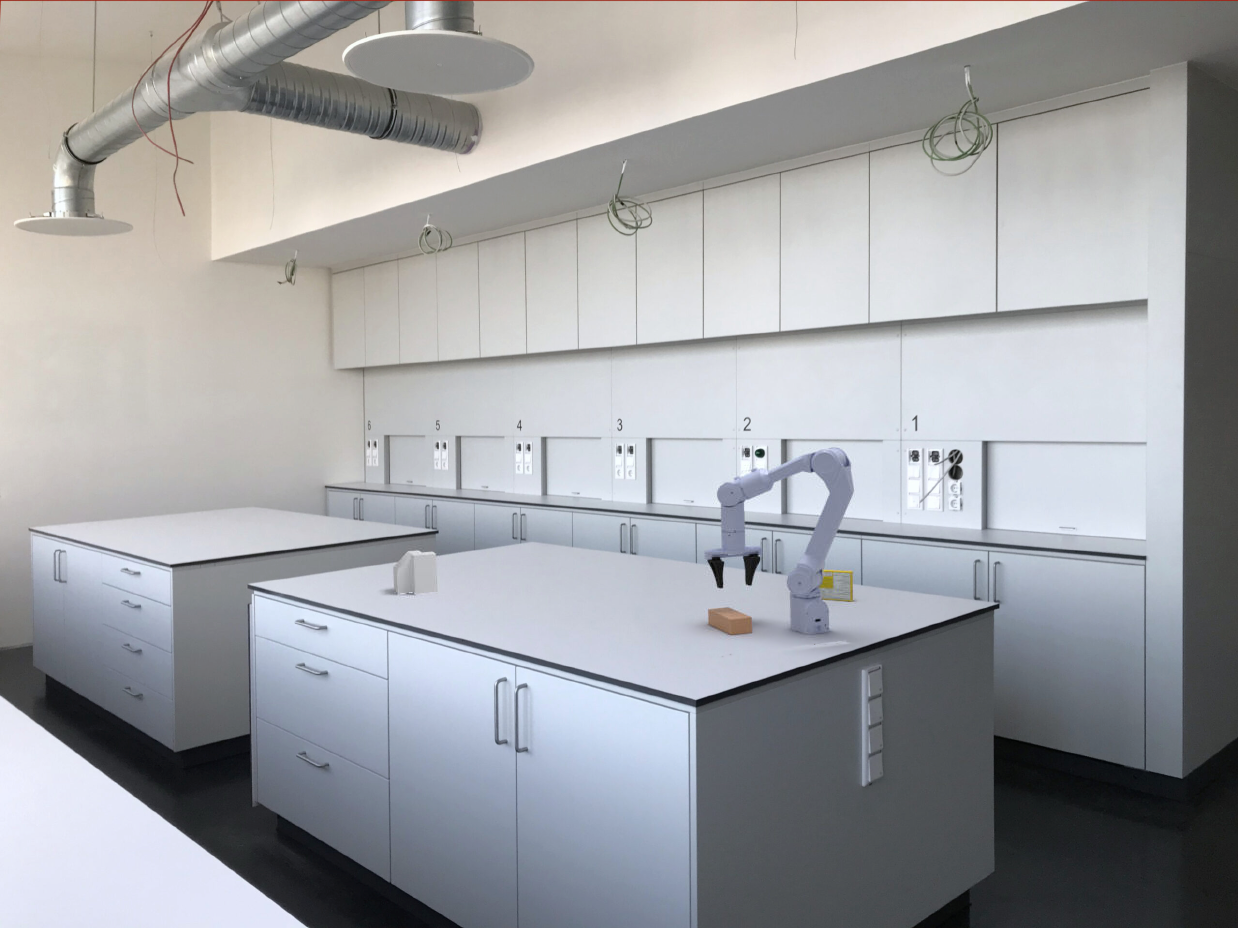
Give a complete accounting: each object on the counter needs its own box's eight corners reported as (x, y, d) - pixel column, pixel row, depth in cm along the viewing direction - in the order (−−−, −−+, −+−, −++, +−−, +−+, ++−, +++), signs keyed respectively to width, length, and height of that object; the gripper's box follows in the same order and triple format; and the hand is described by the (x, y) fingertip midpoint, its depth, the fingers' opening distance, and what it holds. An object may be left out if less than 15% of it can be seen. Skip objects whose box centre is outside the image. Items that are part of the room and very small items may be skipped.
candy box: (853, 600, 261) (853, 570, 260) (851, 602, 259) (851, 571, 258) (797, 596, 269) (796, 567, 268) (794, 597, 267) (793, 568, 267)
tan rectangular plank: (751, 632, 223) (751, 617, 223) (730, 634, 221) (730, 619, 221) (728, 621, 235) (728, 607, 235) (708, 623, 233) (708, 609, 233)
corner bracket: (437, 593, 289) (435, 553, 288) (399, 597, 285) (397, 557, 284) (431, 587, 299) (429, 549, 298) (394, 591, 295) (392, 552, 294)
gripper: (752, 527, 238) (754, 581, 239) (699, 531, 234) (700, 586, 235) (765, 530, 232) (767, 585, 233) (710, 534, 227) (712, 591, 228)
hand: (734, 586), depth 233 cm, fingers open, 7 cm apart
